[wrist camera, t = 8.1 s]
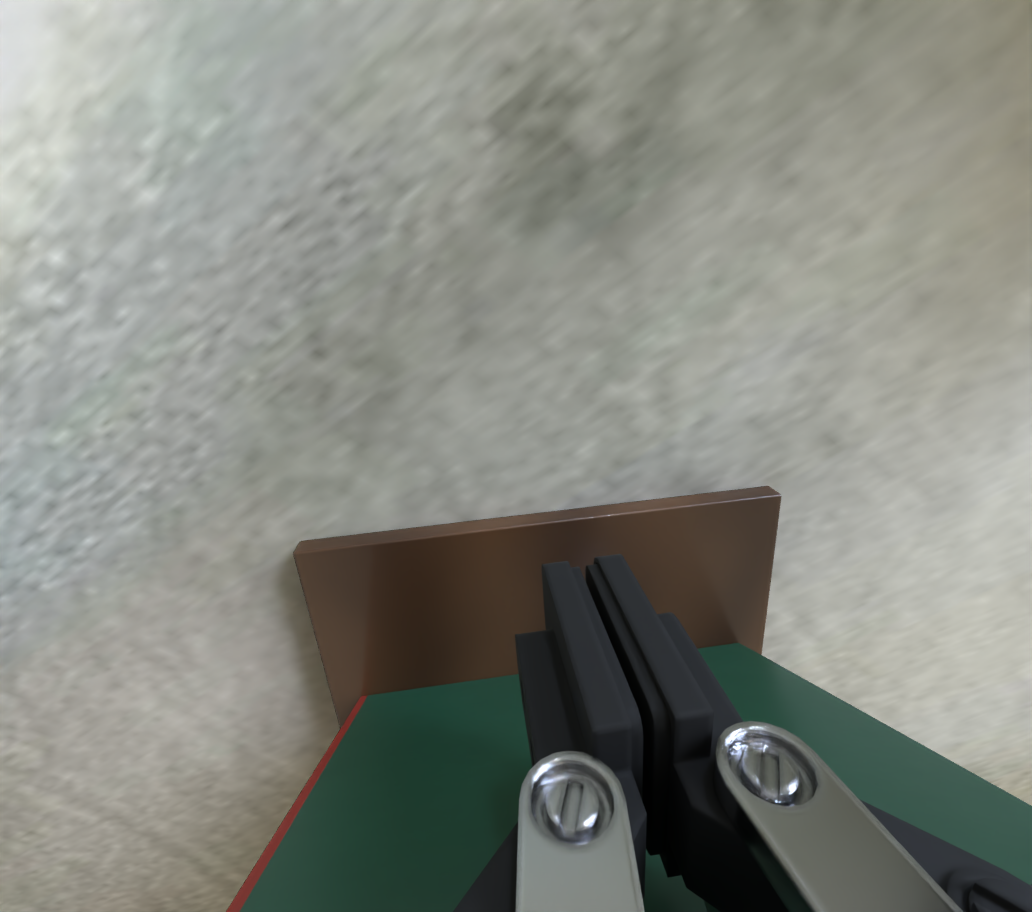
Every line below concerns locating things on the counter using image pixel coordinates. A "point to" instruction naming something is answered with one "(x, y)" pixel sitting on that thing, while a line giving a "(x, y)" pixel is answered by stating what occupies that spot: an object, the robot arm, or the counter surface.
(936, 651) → the counter surface
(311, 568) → the bookend
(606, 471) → the counter surface
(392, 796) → the book
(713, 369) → the counter surface
